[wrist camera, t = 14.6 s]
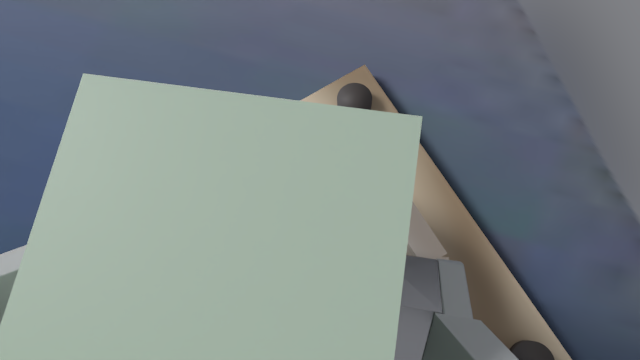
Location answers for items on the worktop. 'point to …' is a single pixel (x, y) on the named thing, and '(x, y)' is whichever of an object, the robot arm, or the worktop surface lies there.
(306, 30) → the worktop surface
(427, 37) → the worktop surface
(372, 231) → the green peg
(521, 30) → the worktop surface
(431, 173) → the bolt socket plate
